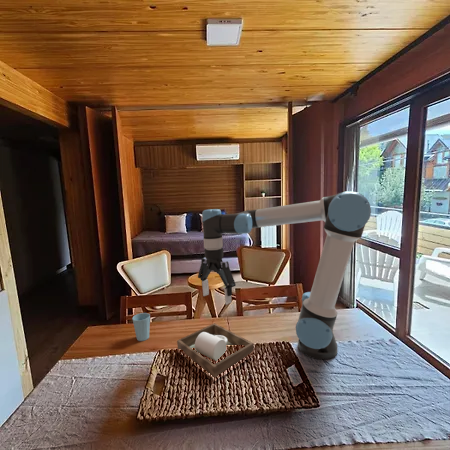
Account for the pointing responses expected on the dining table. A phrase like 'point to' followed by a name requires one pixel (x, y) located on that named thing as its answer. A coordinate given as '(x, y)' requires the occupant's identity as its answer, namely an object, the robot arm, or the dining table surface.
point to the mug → (211, 345)
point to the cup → (142, 326)
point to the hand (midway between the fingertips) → (216, 299)
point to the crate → (232, 339)
